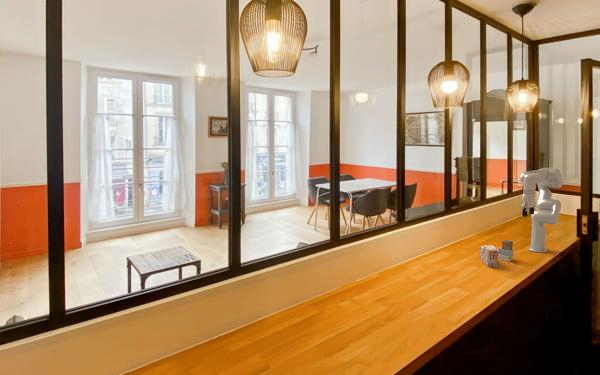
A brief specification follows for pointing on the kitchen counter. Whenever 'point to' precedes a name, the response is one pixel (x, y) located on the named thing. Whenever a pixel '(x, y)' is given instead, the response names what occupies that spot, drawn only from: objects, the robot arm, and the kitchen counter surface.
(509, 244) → the walnut block
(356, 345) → the kitchen counter surface
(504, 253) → the tower top
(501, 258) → the tower base
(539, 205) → the robot arm
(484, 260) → the stack of blocks
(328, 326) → the kitchen counter surface
